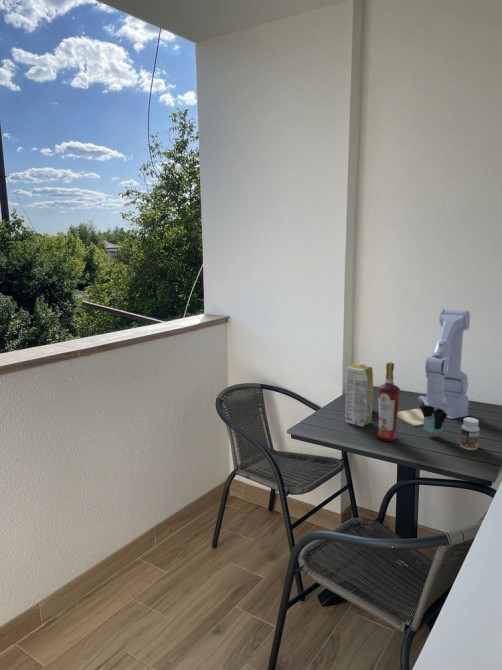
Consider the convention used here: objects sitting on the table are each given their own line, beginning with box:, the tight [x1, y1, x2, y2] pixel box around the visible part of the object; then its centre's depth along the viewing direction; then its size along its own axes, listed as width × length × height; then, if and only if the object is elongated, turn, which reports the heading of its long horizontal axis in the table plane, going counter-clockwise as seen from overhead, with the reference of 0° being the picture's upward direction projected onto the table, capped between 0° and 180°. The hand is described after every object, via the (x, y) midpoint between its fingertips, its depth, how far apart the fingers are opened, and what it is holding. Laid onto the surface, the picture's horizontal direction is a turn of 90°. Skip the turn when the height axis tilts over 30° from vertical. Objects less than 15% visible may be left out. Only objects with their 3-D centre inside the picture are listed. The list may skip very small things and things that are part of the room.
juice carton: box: [344, 362, 374, 428], centre depth 184 cm, size 9×8×24 cm
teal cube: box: [423, 414, 444, 434], centre depth 171 cm, size 4×4×4 cm
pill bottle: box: [459, 416, 481, 451], centre depth 161 cm, size 6×6×10 cm
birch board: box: [397, 407, 434, 427], centre depth 190 cm, size 14×14×1 cm
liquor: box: [376, 361, 401, 442], centre depth 168 cm, size 7×7×28 cm
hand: (433, 426), depth 171 cm, fingers closed on teal cube, 4 cm apart
